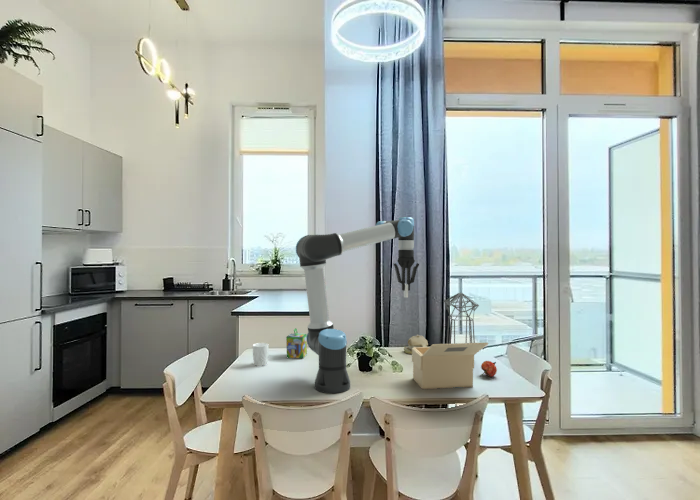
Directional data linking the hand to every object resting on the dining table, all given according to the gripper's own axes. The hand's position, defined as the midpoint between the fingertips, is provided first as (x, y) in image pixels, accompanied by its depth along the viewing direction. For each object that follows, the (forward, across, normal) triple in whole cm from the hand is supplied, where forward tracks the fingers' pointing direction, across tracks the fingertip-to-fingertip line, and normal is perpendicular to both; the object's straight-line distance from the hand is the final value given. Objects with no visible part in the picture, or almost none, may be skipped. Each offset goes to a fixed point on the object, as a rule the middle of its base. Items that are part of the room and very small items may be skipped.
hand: (405, 297), depth 202 cm
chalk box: (+35, +53, -26) cm, 68 cm away
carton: (+34, -10, +24) cm, 43 cm away
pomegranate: (+35, -34, +18) cm, 52 cm away
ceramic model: (+35, -14, -27) cm, 46 cm away
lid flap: (+16, -10, +38) cm, 42 cm away
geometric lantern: (+35, -32, -10) cm, 48 cm away
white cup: (+35, +71, -13) cm, 80 cm away
